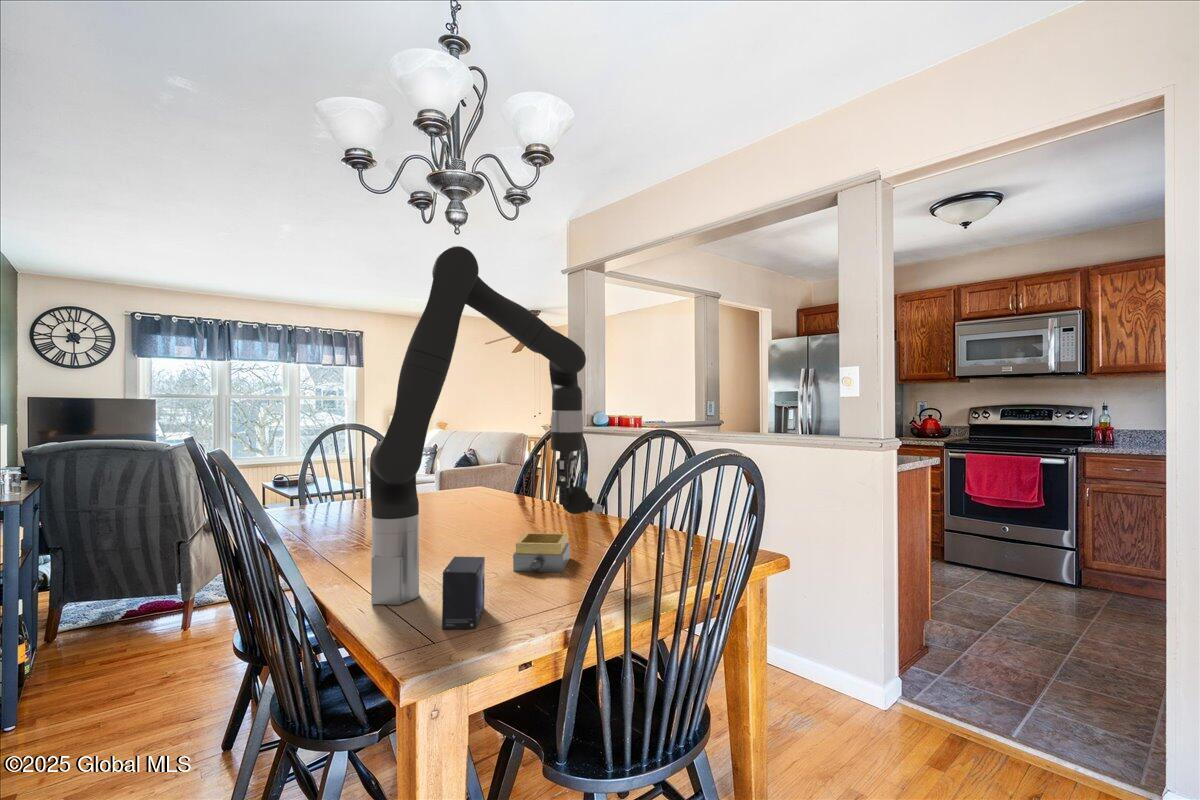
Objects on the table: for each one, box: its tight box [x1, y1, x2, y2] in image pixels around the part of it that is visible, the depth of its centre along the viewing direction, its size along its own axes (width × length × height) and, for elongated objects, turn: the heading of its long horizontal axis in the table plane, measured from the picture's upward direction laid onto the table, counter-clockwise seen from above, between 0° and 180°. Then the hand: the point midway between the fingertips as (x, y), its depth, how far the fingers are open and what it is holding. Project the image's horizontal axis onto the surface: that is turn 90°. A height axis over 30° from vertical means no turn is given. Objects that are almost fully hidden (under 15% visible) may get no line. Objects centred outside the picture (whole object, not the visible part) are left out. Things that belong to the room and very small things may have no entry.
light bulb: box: [562, 485, 604, 515], centre depth 134 cm, size 6×6×10 cm
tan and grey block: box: [512, 532, 571, 573], centre depth 142 cm, size 15×12×6 cm
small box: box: [441, 556, 486, 630], centre depth 108 cm, size 11×6×10 cm, turn 3°
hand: (566, 501), depth 134 cm, fingers closed on light bulb, 6 cm apart
